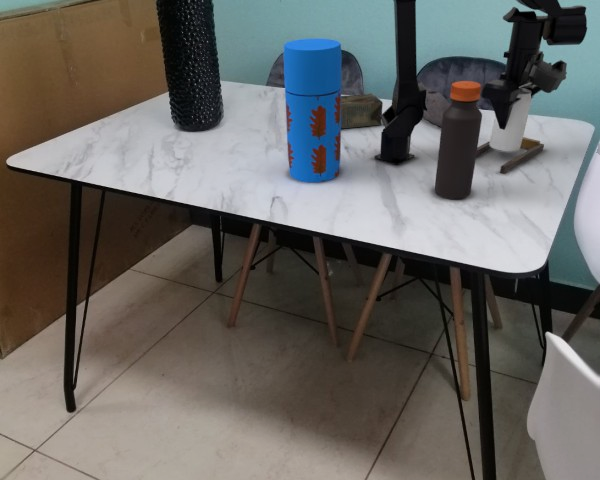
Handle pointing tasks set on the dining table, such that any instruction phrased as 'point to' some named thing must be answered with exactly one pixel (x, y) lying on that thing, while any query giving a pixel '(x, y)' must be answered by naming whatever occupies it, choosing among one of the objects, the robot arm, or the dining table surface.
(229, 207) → the dining table surface
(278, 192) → the dining table surface
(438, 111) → the perforated stone tool
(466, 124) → the bottle
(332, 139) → the thermos
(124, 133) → the dining table surface
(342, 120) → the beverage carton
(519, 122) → the can
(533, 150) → the brown wooden bent bar
